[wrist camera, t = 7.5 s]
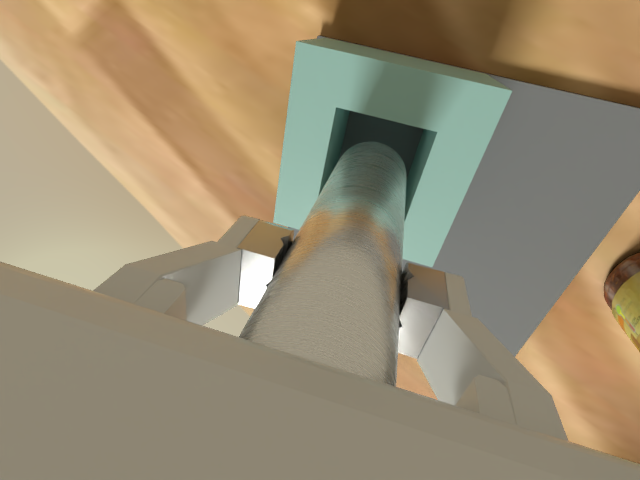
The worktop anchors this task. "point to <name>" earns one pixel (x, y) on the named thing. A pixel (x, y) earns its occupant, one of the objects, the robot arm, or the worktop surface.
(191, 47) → the worktop surface
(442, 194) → the block
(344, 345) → the long pin
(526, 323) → the mat
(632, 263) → the sauce bottle
